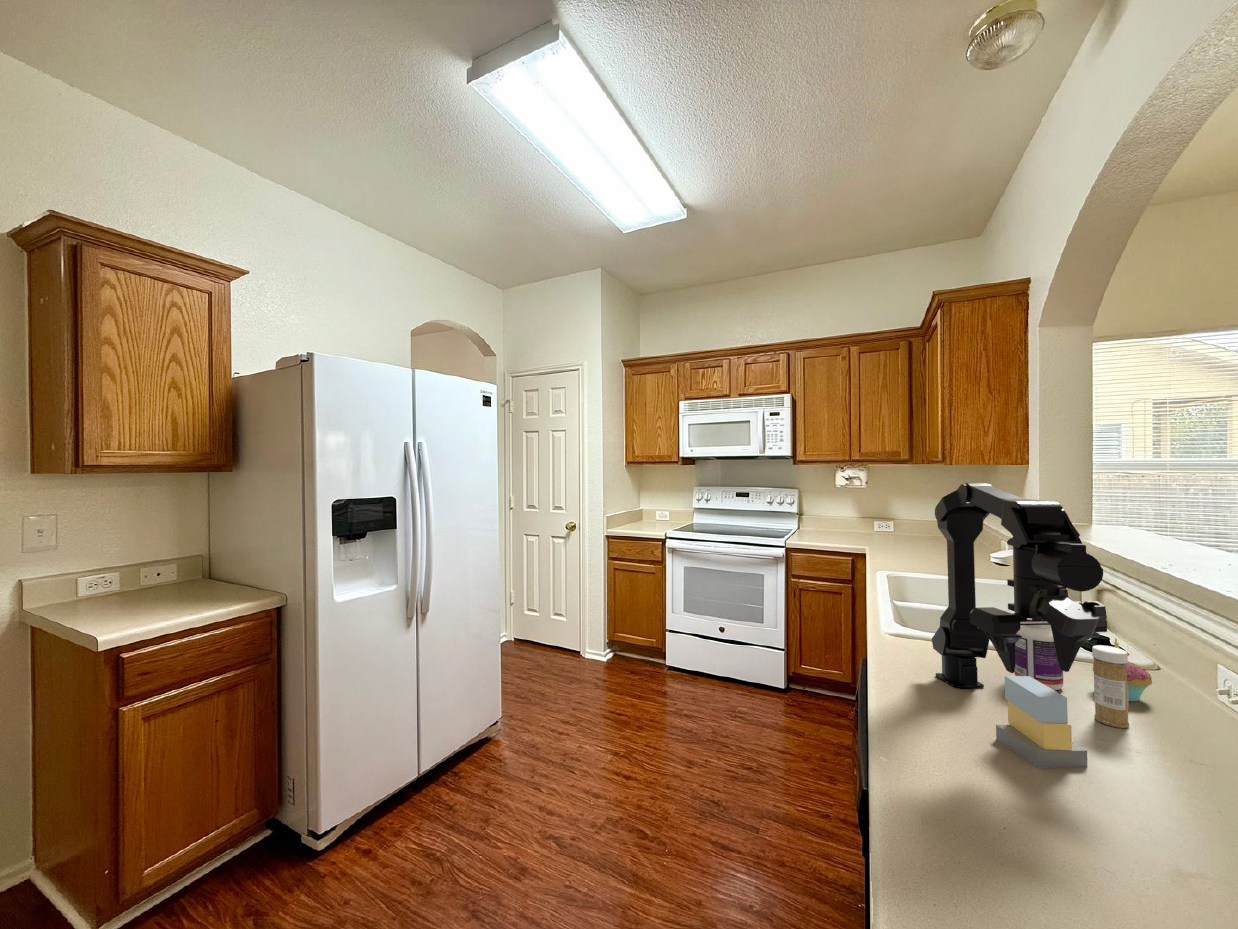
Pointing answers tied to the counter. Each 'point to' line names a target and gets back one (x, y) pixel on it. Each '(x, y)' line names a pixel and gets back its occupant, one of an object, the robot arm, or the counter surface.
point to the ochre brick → (1041, 730)
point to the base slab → (1040, 750)
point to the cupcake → (1135, 679)
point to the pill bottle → (1038, 656)
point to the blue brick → (1036, 699)
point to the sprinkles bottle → (1110, 686)
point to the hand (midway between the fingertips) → (1037, 671)
